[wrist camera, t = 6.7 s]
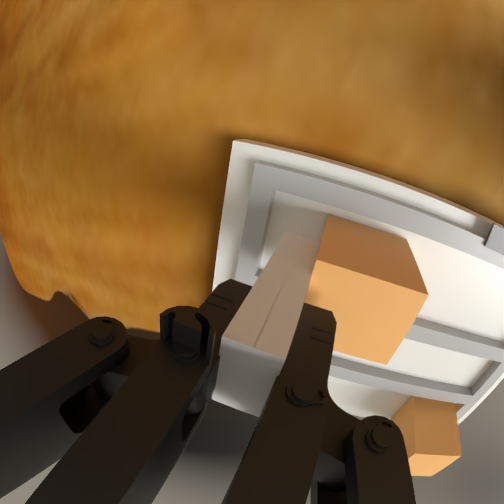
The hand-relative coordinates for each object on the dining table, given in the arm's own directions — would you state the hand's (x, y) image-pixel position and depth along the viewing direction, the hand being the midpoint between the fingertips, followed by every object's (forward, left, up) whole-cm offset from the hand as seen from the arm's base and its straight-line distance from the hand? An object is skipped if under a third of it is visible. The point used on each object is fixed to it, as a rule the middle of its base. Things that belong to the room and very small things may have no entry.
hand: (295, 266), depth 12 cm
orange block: (+3, 0, -2) cm, 4 cm away
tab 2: (+13, -10, -2) cm, 16 cm away
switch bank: (+7, -5, -4) cm, 9 cm away
